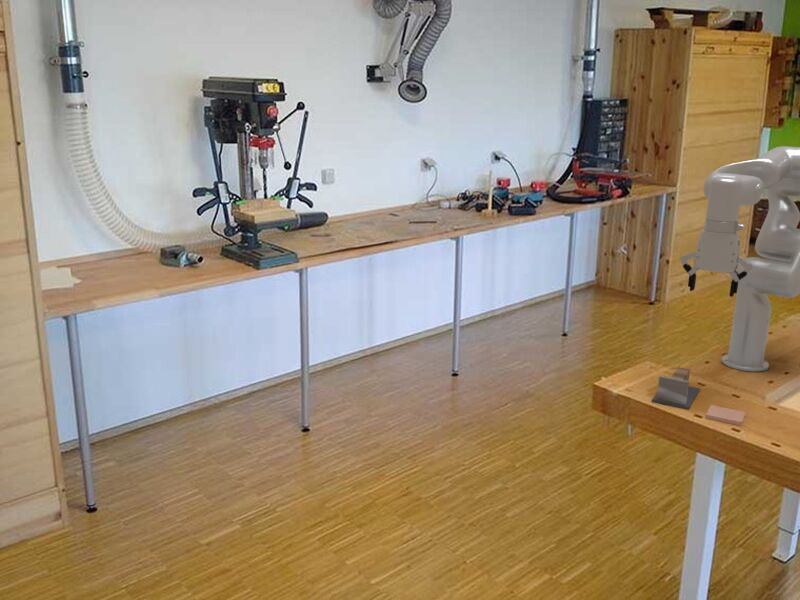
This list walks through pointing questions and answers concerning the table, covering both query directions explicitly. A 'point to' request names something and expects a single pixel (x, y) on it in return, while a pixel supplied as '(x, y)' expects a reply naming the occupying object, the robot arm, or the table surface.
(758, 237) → the robot arm
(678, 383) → the scraper
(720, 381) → the table surface
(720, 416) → the tile
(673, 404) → the mat
